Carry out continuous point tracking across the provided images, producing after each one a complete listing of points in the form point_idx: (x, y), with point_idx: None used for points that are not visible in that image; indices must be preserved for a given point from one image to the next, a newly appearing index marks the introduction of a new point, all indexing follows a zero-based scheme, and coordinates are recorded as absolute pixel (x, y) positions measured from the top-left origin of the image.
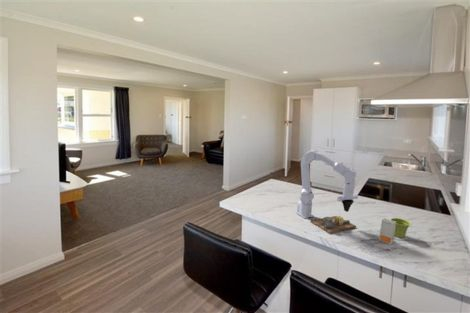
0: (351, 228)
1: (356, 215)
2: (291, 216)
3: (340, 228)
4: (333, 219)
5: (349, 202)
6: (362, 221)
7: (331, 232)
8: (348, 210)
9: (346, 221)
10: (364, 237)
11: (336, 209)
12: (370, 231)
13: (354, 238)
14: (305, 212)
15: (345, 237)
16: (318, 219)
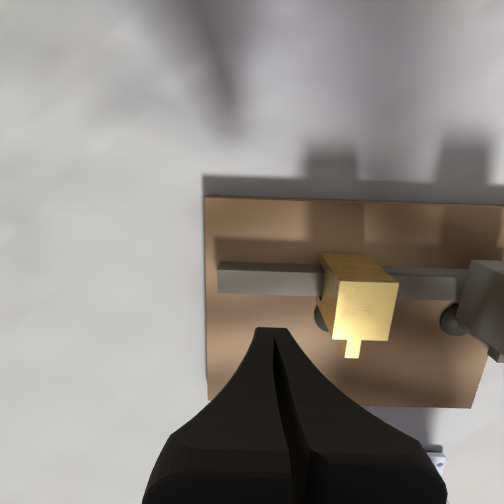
0: (264, 197)
1: (13, 361)
2: (492, 496)
3: (387, 217)
4: None
5: (366, 448)
6: (47, 264)
7: (501, 206)
8: (260, 332)
9: (258, 273)
10: (300, 9)
11: (95, 477)
12: (134, 84)
13: (408, 37)
14: (447, 502)
15: (464, 91)
16: (401, 401)
